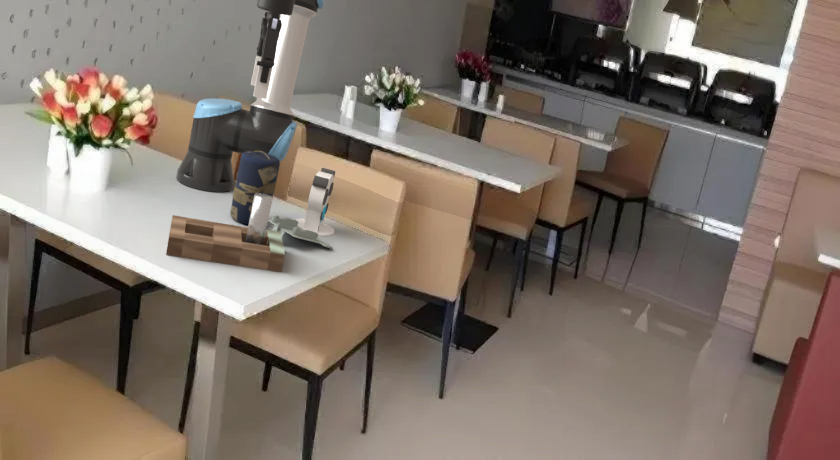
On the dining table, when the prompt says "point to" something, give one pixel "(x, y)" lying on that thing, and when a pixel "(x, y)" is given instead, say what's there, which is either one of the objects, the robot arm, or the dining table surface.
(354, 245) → the dining table surface
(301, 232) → the metal bracket
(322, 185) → the white upright piece
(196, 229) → the pin plate
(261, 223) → the steel pin
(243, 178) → the canister
